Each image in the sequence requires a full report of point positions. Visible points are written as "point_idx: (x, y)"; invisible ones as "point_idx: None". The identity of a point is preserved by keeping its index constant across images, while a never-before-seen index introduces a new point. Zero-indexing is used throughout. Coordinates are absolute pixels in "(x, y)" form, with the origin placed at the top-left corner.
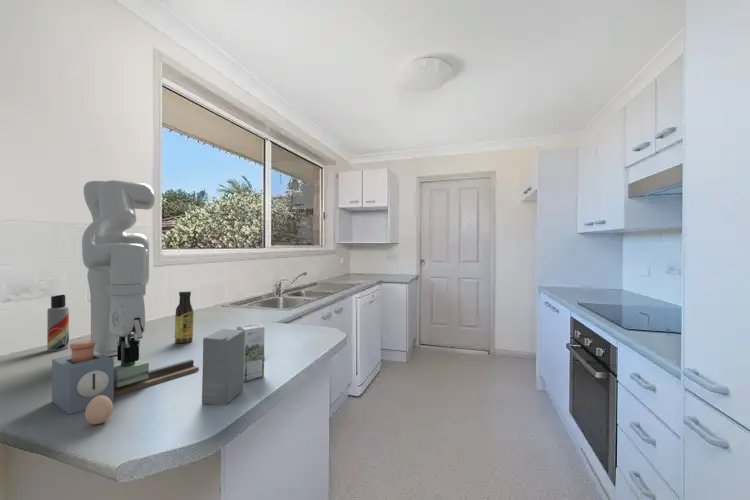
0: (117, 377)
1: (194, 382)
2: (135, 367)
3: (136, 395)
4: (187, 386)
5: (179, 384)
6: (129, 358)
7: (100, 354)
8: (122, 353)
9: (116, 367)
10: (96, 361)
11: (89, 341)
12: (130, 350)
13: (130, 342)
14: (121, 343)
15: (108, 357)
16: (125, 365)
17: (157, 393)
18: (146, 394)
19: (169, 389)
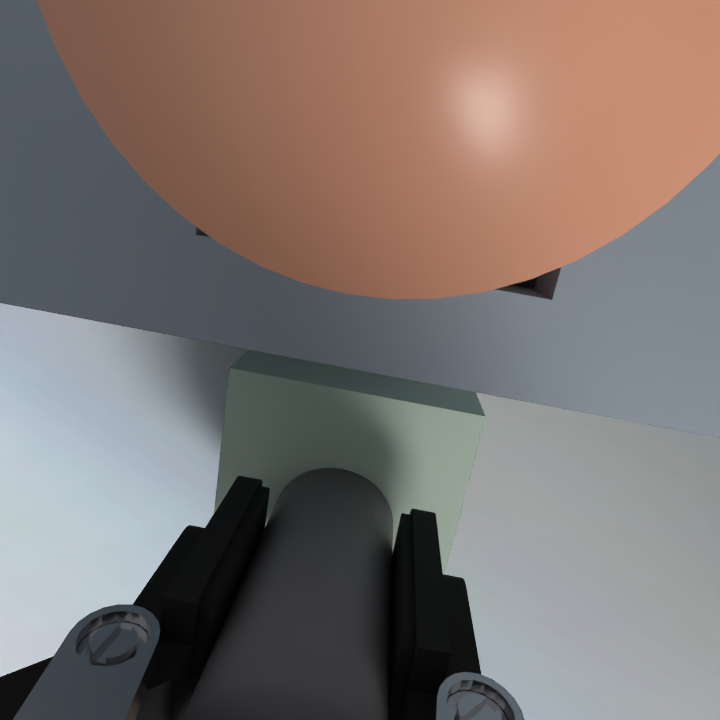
0: (248, 351)
1: (50, 613)
2: (217, 507)
3: (160, 362)
4: (24, 560)
5: (99, 566)
6: (197, 529)
7: (410, 355)
8: (297, 555)
9: (352, 429)
10: (21, 88)
11: (456, 165)
12: (137, 605)
13: (18, 709)
14: (294, 680)
15: (100, 302)
16: (294, 483)
17: (74, 430)
18: (119, 396)
19: (73, 495)
